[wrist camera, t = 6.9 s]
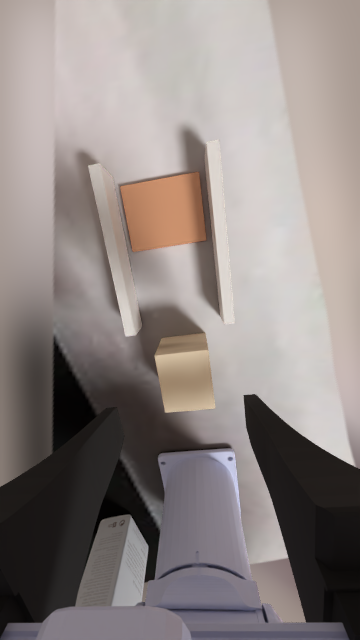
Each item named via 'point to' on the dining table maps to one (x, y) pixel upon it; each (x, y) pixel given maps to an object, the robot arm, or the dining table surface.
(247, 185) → the dining table surface
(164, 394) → the block
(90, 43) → the dining table surface
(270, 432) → the robot arm
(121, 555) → the skincare box
